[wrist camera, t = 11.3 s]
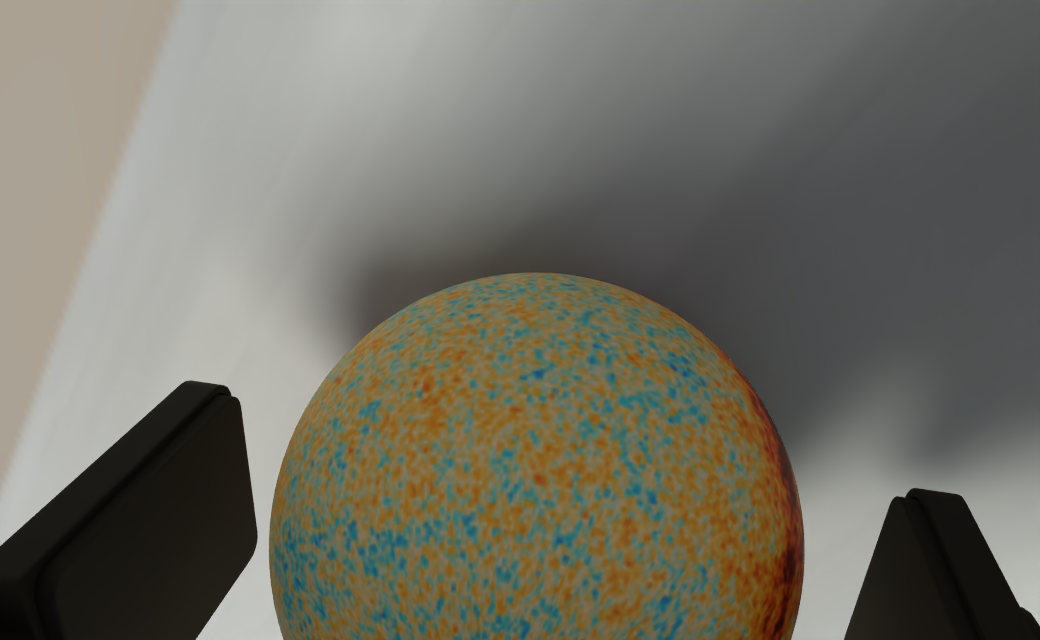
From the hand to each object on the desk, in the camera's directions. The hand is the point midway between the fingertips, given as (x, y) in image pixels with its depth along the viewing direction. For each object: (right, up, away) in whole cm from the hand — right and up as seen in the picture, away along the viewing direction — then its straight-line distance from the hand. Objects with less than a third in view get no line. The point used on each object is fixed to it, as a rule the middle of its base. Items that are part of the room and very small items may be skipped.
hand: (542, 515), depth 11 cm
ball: (0, +2, +3) cm, 3 cm away
